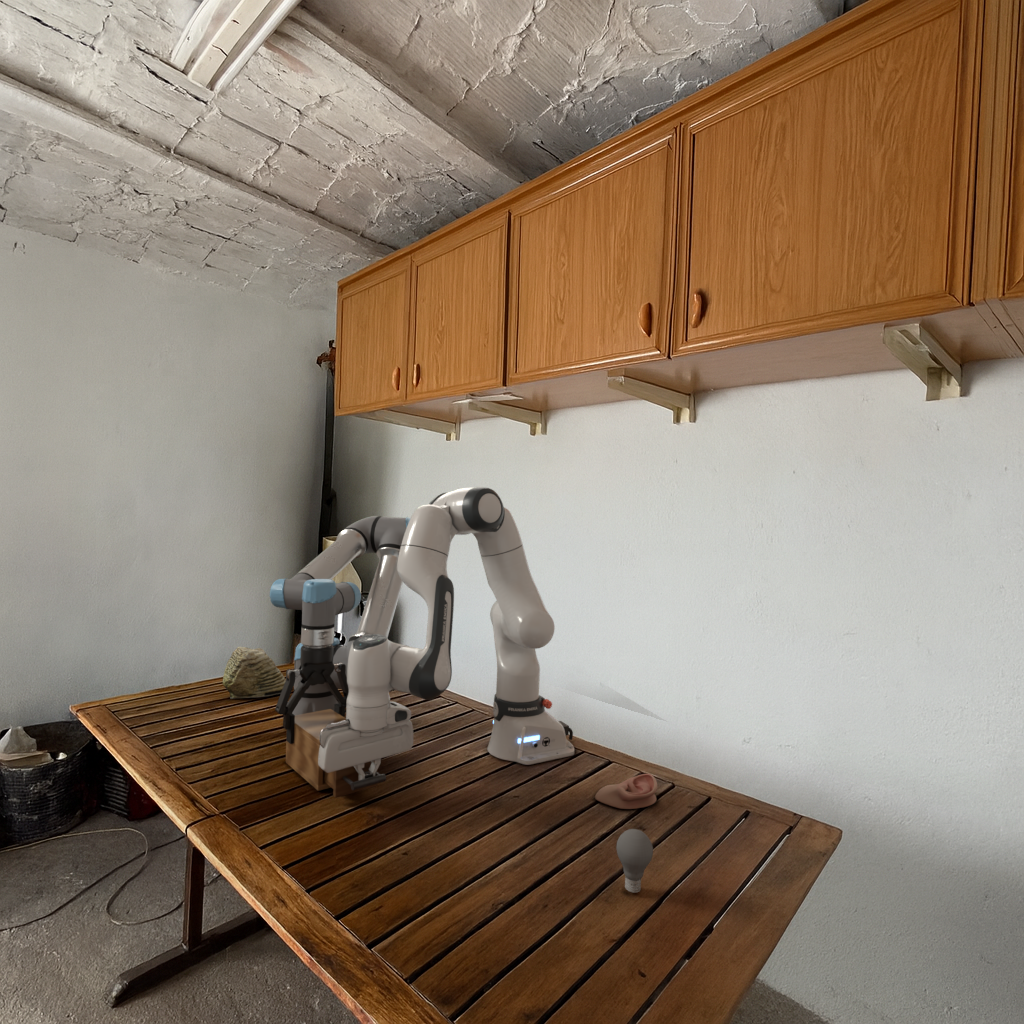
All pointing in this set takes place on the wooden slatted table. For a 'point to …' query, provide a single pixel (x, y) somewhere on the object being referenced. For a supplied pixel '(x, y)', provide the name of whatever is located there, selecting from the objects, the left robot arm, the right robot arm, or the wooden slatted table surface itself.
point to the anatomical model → (630, 793)
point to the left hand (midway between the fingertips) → (314, 736)
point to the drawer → (351, 780)
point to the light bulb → (634, 857)
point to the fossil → (252, 674)
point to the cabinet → (309, 745)
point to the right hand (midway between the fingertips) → (366, 781)
